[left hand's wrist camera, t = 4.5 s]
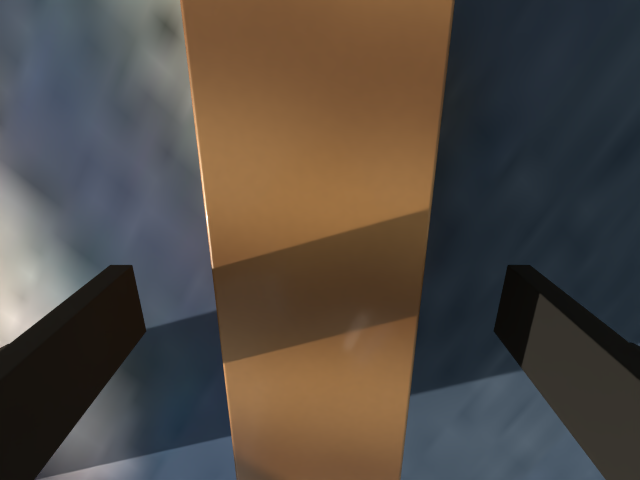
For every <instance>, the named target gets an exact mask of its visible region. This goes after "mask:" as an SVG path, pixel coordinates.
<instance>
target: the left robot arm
mask: <svg viewBox="0 0 640 480" xmlns="http://www.w3.org/2000/svg"><path fill="white" fill-rule="evenodd" d="M145 332H146V328H145V323H144V318H143V313H142V309H141V304H140V299H139V295H138V290H137V285H136V281H135V276H134V271H133V266H132V265H110V266H108V267H107V268H106V269H105V270H103V271H102V272H101V273H99V274H98V275H97V276H96V277H94V278H93V279H92V280H91V281H89V282H88V283H87V284H85V285H84V286H83V287H82V288H80V289H79V290H78V291H76V292H75V293H74V294H73V295H71V296H70V297H69V298H68V299H66V300H65V301H64V302H62V303H61V304H60V305H59V306H57V307H56V308H55V309H53V310H52V311H51V312H50V313H48V314H47V315H46V316H45V317H43V318H42V319H41V320H39V321H38V322H37V323H36V324H34V325H33V326H32V327H30V328H29V329H28V330H27V331H25V332H24V333H23V334H22V335H20V336H19V337H18V338H16V339H15V340H14V341H13V342H11V343H10V344H7V345H5V346H3V347H1V348H0V480H34V479H35V478H36V477H37V475H38V474H39V473H40V471H41V470H42V469H43V467H44V466H45V465H46V463H47V462H48V461H49V459H50V458H51V457H52V455H53V454H54V453H55V451H56V450H57V449H58V447H59V446H60V445H61V443H62V442H63V441H64V439H65V438H66V437H67V436H68V434H69V433H70V432H71V430H72V429H73V428H74V426H75V425H76V424H77V422H78V421H79V420H80V418H81V417H82V416H83V414H84V413H85V412H86V410H87V409H88V408H89V406H90V405H91V404H92V402H93V401H94V400H95V398H96V397H97V396H98V394H99V393H100V392H101V390H102V389H103V388H104V386H105V385H106V384H107V383H108V381H109V380H110V379H111V377H112V376H113V375H114V373H115V372H116V371H117V369H118V368H119V367H120V365H121V364H122V363H123V361H124V360H125V359H126V357H127V356H128V355H129V353H130V352H131V351H132V349H133V348H134V347H135V345H136V344H137V343H138V341H139V340H140V339H141V337H142V336H143V335H144V333H145ZM494 332H495V333H496V335H497V336H498V337H499V339H500V340H501V341H502V343H503V344H504V345H505V347H506V348H507V349H508V351H509V352H510V353H511V355H512V356H513V357H514V359H515V360H516V361H517V363H518V364H519V365H520V367H521V368H522V369H523V371H524V372H525V373H526V375H527V376H528V377H529V379H530V380H531V381H532V383H533V384H534V385H535V386H536V388H537V389H538V390H539V392H540V393H541V394H542V396H543V397H544V398H545V400H546V401H547V402H548V404H549V405H550V406H551V408H552V409H553V410H554V412H555V413H556V414H557V416H558V417H559V418H560V420H561V421H562V422H563V424H564V425H565V426H566V428H567V429H568V430H569V432H570V433H571V434H572V436H573V437H574V438H575V439H576V441H577V442H578V443H579V445H580V446H581V447H582V449H583V450H584V451H585V453H586V454H587V455H588V457H589V458H590V459H591V461H592V462H593V463H594V465H595V466H596V467H597V469H598V470H599V471H600V473H601V474H602V475H603V477H604V478H605V479H606V480H640V346H638V345H636V344H634V343H629V342H627V341H626V340H625V339H624V338H622V337H621V336H620V335H618V334H617V333H616V332H615V331H613V330H612V329H611V328H610V327H608V326H607V325H606V324H604V323H603V322H602V321H601V320H599V319H598V318H597V317H595V316H594V315H593V314H592V313H590V312H589V311H588V310H587V309H585V308H584V307H583V306H581V305H580V304H579V303H578V302H576V301H575V300H574V299H572V298H571V297H570V296H569V295H567V294H566V293H565V292H564V291H562V290H561V289H560V288H558V287H557V286H556V285H555V284H553V283H552V282H551V281H549V280H548V279H547V278H546V277H544V276H543V275H542V274H541V273H539V272H538V271H537V270H535V269H534V268H533V267H532V266H530V265H508V266H507V271H506V276H505V281H504V285H503V290H502V295H501V299H500V304H499V309H498V313H497V318H496V323H495V328H494Z"/></svg>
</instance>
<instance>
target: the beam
mask: <svg viewBox="0 0 640 480" xmlns="http://www.w3.org/2000/svg"><path fill="white" fill-rule="evenodd" d="M180 3H181V11H182V20H183V28H184V37H185V45H186V54H187V62H188V70H189V79H190V87H191V96H192V104H193V113H194V121H195V130H196V138H197V147H198V155H199V164H200V172H201V181H202V189H203V198H204V206H205V215H206V223H207V232H208V240H209V249H210V257H211V266H212V274H213V283H214V291H215V300H216V308H217V317H218V325H219V334H220V342H221V351H222V359H223V367H224V376H225V384H226V393H227V401H228V410H229V418H230V427H231V435H232V444H233V452H234V461H235V469H236V478H237V480H400V479H401V470H402V461H403V452H404V443H405V435H406V426H407V417H408V408H409V399H410V391H411V382H412V373H413V364H414V355H415V347H416V338H417V329H418V320H419V311H420V303H421V294H422V285H423V276H424V267H425V259H426V250H427V241H428V232H429V224H430V215H431V206H432V197H433V188H434V180H435V171H436V162H437V153H438V144H439V136H440V127H441V118H442V109H443V100H444V92H445V83H446V74H447V65H448V56H449V48H450V39H451V30H452V21H453V12H454V4H455V0H180Z"/></svg>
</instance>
